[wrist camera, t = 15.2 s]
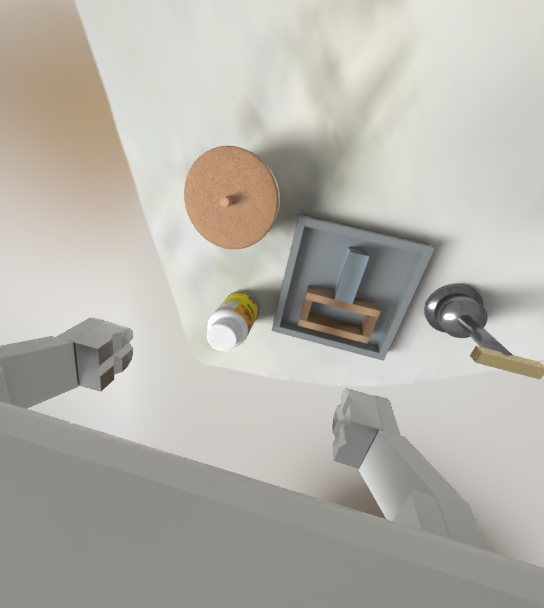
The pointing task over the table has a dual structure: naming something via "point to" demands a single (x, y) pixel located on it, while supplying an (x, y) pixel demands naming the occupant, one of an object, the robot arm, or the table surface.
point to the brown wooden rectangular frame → (343, 302)
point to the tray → (374, 284)
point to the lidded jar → (231, 197)
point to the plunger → (474, 328)
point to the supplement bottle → (232, 321)
